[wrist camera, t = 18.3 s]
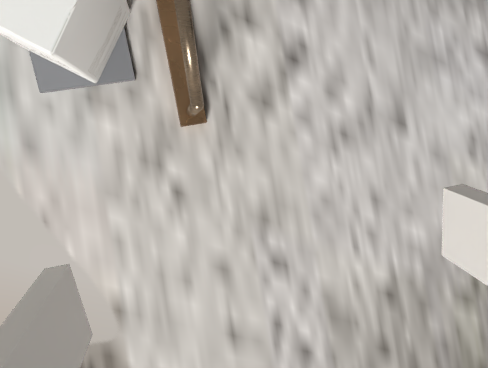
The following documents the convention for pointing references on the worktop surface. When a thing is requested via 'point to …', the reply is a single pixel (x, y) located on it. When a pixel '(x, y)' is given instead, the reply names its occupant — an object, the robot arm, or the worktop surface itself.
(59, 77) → the mat
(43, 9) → the supplement box
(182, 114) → the cabinet door handle
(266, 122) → the worktop surface
